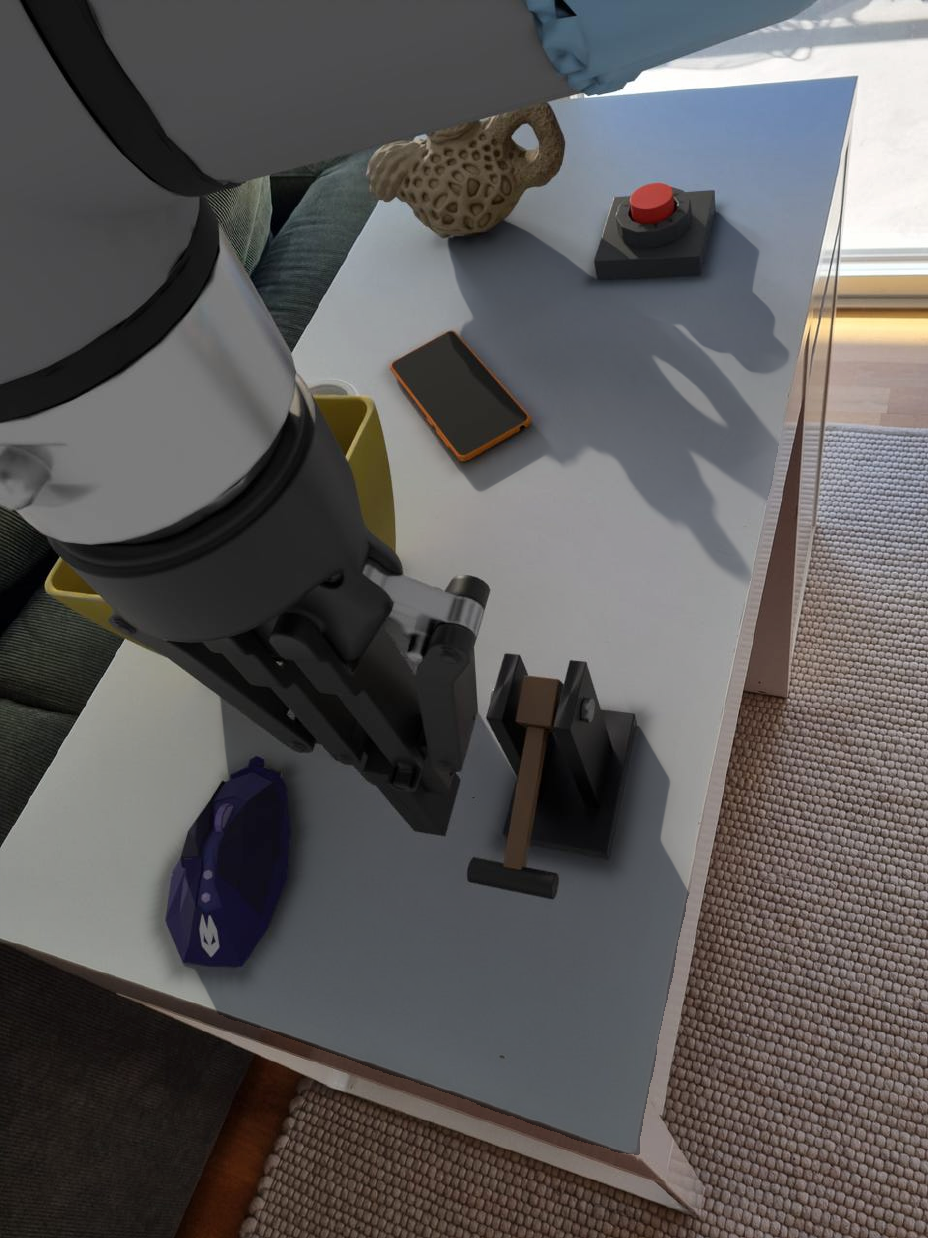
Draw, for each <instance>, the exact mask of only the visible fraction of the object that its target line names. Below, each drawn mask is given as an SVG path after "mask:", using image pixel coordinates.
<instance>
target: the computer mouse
mask: <svg viewBox="0 0 928 1238" xmlns="http://www.w3.org/2000/svg"><path fill="white" fill-rule="evenodd" d="M265 761H266V759H265V758H263V757H260V756H257V755H255V756H253V757H252V758H250V759H249V761H248V765H247V766H246V767H243V768H241V769H239V770H237V771H235V772H233V773H231V774H230V779H229V780H226V781H224V780H221V782H220V783H219V785H218V786H217V788H216V789H215V791H214V793H213V794H212V796H211V797H210V799H209V801H208V802H207V804H206V805H205V806H204V808H203V809H202V811H201V812H200V813H199V815H198V816H197V818H196V819H195V821H194V822H193V823H192V824H191V826H190V828H189V829H188V830H187V833H186V837H185V840H184V842H183V843H184V844H183V847H182V851H181V855H180V858H179V860H178V861H177V864H176V865H175V866H174V868H173V870H172V872H171V875H170V876H171V877H170V884H169V892H168V898H167V905H166V912H165V919H164V920H165V923H166V925H167V927H168V930H169V932H170V934H171V937H172V939H173V942H174V944H175V946H176V950H177V951H178V953H179V956H180V959H181V962H182V963H187V964H193V965H198V966H199V965H201V966H206V967H231V968H232V967H234V968H236V967H237V968H238V967H242V966H243V965H244V964H245V962H246V961H247V959H248V958H249V956H250V954H251V953H252V952H253V950H254V949H255V947H256V946H257V944H258V943H259V941H260V940H261V939H262V937H263V935H264V934H265V933H266V931H267V930H268V928H269V927H270V925H271V922H272V919H273V917H274V914H275V912H276V909H277V906H278V904H279V901H280V899H281V896H282V894H283V891H284V889H285V886H286V884H287V881H288V878H289V864H290V848H291V834H292V833H291V832H292V831H291V830H292V829H291V820H290V809H289V800H288V798H289V797H288V790H287V785H286V783H285V781H284V780H283V778H282V777H283V776H282V775H283V772H282V771H278V770H275V769H271V768H268V767H265V763H266V762H265Z"/></svg>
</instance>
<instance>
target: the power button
mask: <svg viewBox="0 0 928 1238" xmlns="http://www.w3.org/2000/svg"><path fill="white" fill-rule="evenodd" d="M671 187H672V186H670V185H668V184H667V183H662V182H653V183H647V184H645V185H642V186H640V187H638V188H637V189H635V191H633V192H632V194H630V195H631V198H630V204H631V212H632V218H633V220H634V221H635V222H637V223H640V224H654V223H658V222H660V221H663V220H665V219H668V218H669V217H670V216H671V215H672V214H673V212H674V209H675V208H674V197H673V190H672V188H671Z"/></svg>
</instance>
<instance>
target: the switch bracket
mask: <svg viewBox="0 0 928 1238" xmlns="http://www.w3.org/2000/svg"><path fill="white" fill-rule="evenodd" d="M524 675H528V676H530V675H529V673H528V670H527V668H526V666H525V664H524V661H523V659H522V656H521V654H518V653H508V652H505V653H504V654H503V658H502V661H501V665H500V667H499V671H498V674H497V678H496V682H495V685H494V687H493V689H492V691H491V694H490V701H489V702H490V703H489V705H488V709H487V712H486V717H485V720H486V721H487V723H488V725H489V727H490V729H491V731H492V732H493V734H494V736H495V738H496V740H497V742H498V744H499V746H500V748H501V750H502V752H503V754H504V755H505V757H506V760H507V761H508V764H509V765H510V767H511V769H512V771H513V772H514V774H515V776H516V780H515V781H516V782H515V785H514V788H513V792H512V796H511V800H510V805H509V807H508V812H507V815H506V818H505V822H504V826H503V829H502V835H503V837H504V838H505V840H506V841H507V840H508V834H509V829H510V823H511V817H512V811H513V805H514V800H515V794H516V788H517V782H518V776H519V771H520V765H521V759H522V753H523V747H524V742H525V736H526V730H527V729H526V728H524V727H523V726H522V725H520V724H519V723H517V722H516V721H515V719H516V714H517V708H518V702H519V697H520V691H521V685H522V680H523V676H524ZM564 677H565V678H564V682H563V684H564V685H563V689H562V693H561V697H560V701H559V705H558V709H557V713H556V717H555V721H554V725H553V728H554V731H555V733H552V732H548V738H547V744H546V750H545V756H544V762H543V768H542V774H541V780H540V786H539V792H538V798H537V804H536V810H535V816H534V822H533V828H532V834H531V840H530V846H535V847H539V848H545V849H550V850H555V851H560V852H561V851H562V852H566V853H571V854H577V855H583V856H588V857H594V858H599V859H603V860H610V857H611V853H612V848H613V842H614V837H615V832H616V828H617V823H618V818H619V813H620V809H621V804H622V799H623V794H624V788H625V784H626V780H627V779H626V778H627V774H628V768H629V763H630V759H631V754H632V748H633V745H634V741H635V740H634V739H635V736H636V735H635V734H636V730H637V724H638V720H637V717H636V713H633V712H627V711H617V710H610V709H602V708H601V705H600V702H599V699H598V696H597V692H596V689H595V685H594V683H593V679H592V676H591V672H590V668H589V666H588V662H587V661H583V660H576V659H575V660H573V659H570V660H569V661H568V665H567V670H566V673H565V676H564Z"/></svg>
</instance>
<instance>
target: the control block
mask: <svg viewBox="0 0 928 1238" xmlns="http://www.w3.org/2000/svg"><path fill="white" fill-rule="evenodd" d="M670 187H671V188H672V190H673V197H674V208H675V209H674V212H673V214H672V215H671V216H670V217H669V218H668V219H665V220H663V221H660V222H658V223H654V224H640V223H637V222H635V221H634V220H633V218H632V212H631V204H630V198H631V195H632V194H630V195H625V196H615V197H613V199H612V203H611V205H610V209H609V212H608V215H607V217H606V221H605V225H604V228H603V231H602V235H601V237H600V241H599V244H598V247H597V251H596V254H595V256H594V260H593V263H594V269H595V275H596V280H598V281H600V280H602V281H603V280H605V281H606V280H627V279H652V278H676V277H700V276H702V271H703V267H704V262H705V260H706V259H705V258H706V254H707V249H708V245H709V241H710V236H711V232H712V227H713V223H714V218H715V213H716V211H717V210H716V209H717V208H716V190H715V189H707V190H694V191H685V190H684V189H680V188H678V187H673V186H670Z"/></svg>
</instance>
